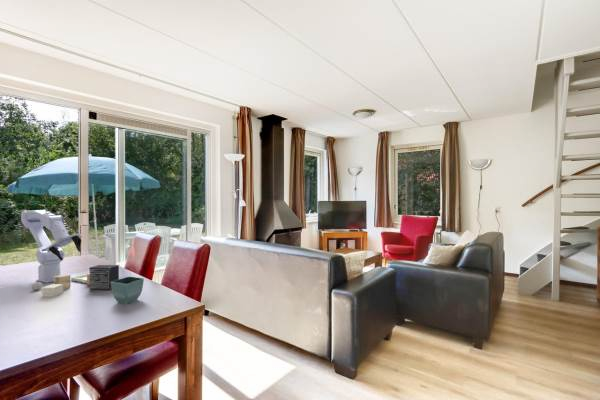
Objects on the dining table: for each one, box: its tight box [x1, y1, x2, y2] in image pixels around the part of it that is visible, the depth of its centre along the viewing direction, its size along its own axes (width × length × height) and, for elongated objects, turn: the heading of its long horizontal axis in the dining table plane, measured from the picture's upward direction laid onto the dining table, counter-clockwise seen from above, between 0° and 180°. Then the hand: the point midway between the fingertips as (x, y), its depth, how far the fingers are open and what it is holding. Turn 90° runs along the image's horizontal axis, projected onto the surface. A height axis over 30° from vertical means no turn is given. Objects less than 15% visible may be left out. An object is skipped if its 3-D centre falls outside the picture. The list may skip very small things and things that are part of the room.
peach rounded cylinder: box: [86, 272, 90, 286], centre depth 146 cm, size 4×4×5 cm
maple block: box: [53, 273, 72, 290], centre depth 139 cm, size 4×4×6 cm
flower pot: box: [111, 276, 145, 305], centre depth 122 cm, size 9×9×9 cm
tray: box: [70, 272, 90, 284], centre depth 154 cm, size 12×12×2 cm
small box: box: [89, 264, 120, 291], centre depth 140 cm, size 11×6×10 cm, turn 84°
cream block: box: [41, 283, 64, 298], centre depth 130 cm, size 5×5×4 cm
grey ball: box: [31, 281, 43, 291], centre depth 137 cm, size 4×4×4 cm
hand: (70, 255), depth 141 cm, fingers open, 7 cm apart
